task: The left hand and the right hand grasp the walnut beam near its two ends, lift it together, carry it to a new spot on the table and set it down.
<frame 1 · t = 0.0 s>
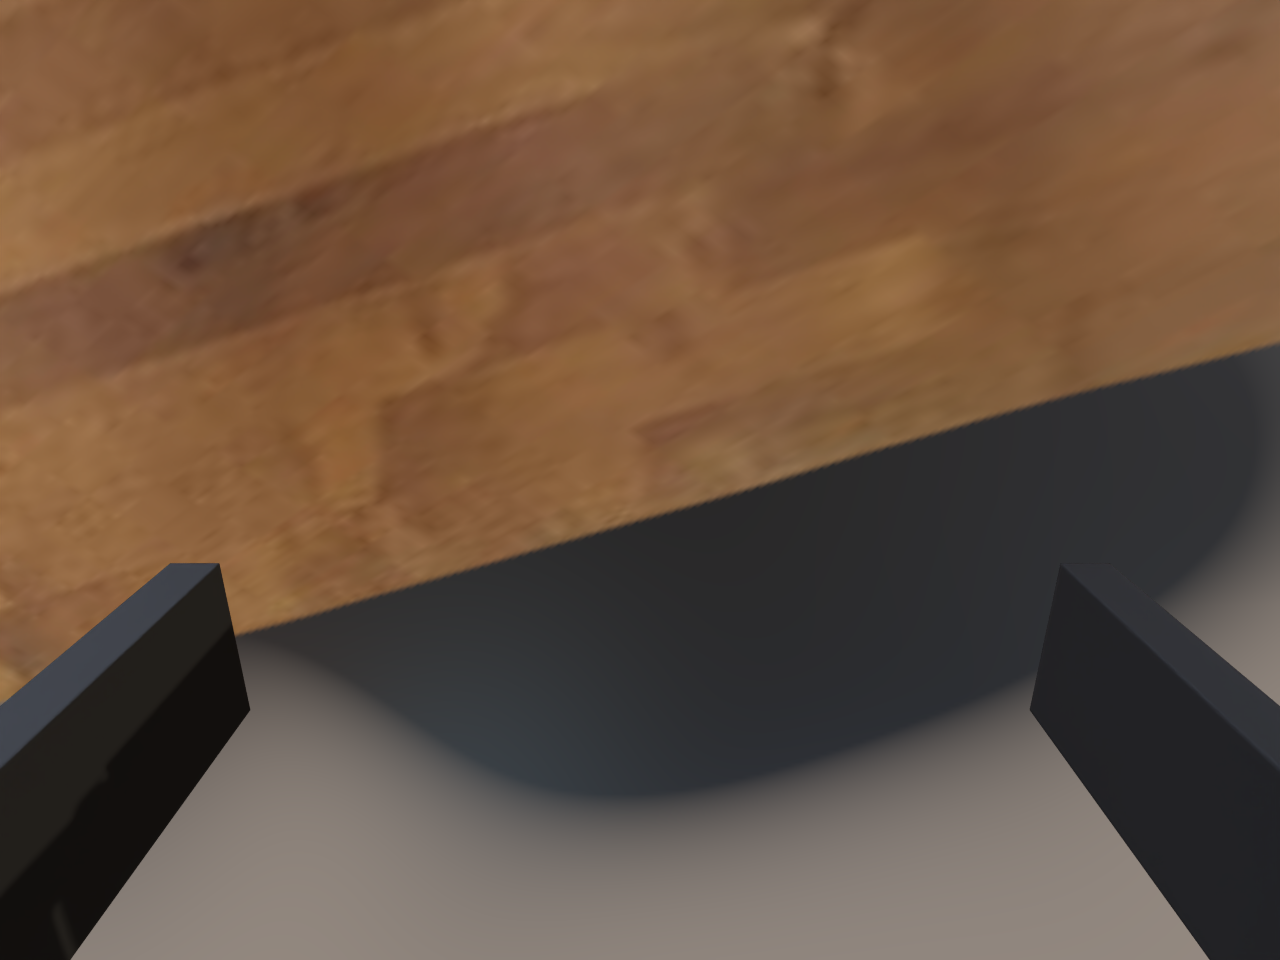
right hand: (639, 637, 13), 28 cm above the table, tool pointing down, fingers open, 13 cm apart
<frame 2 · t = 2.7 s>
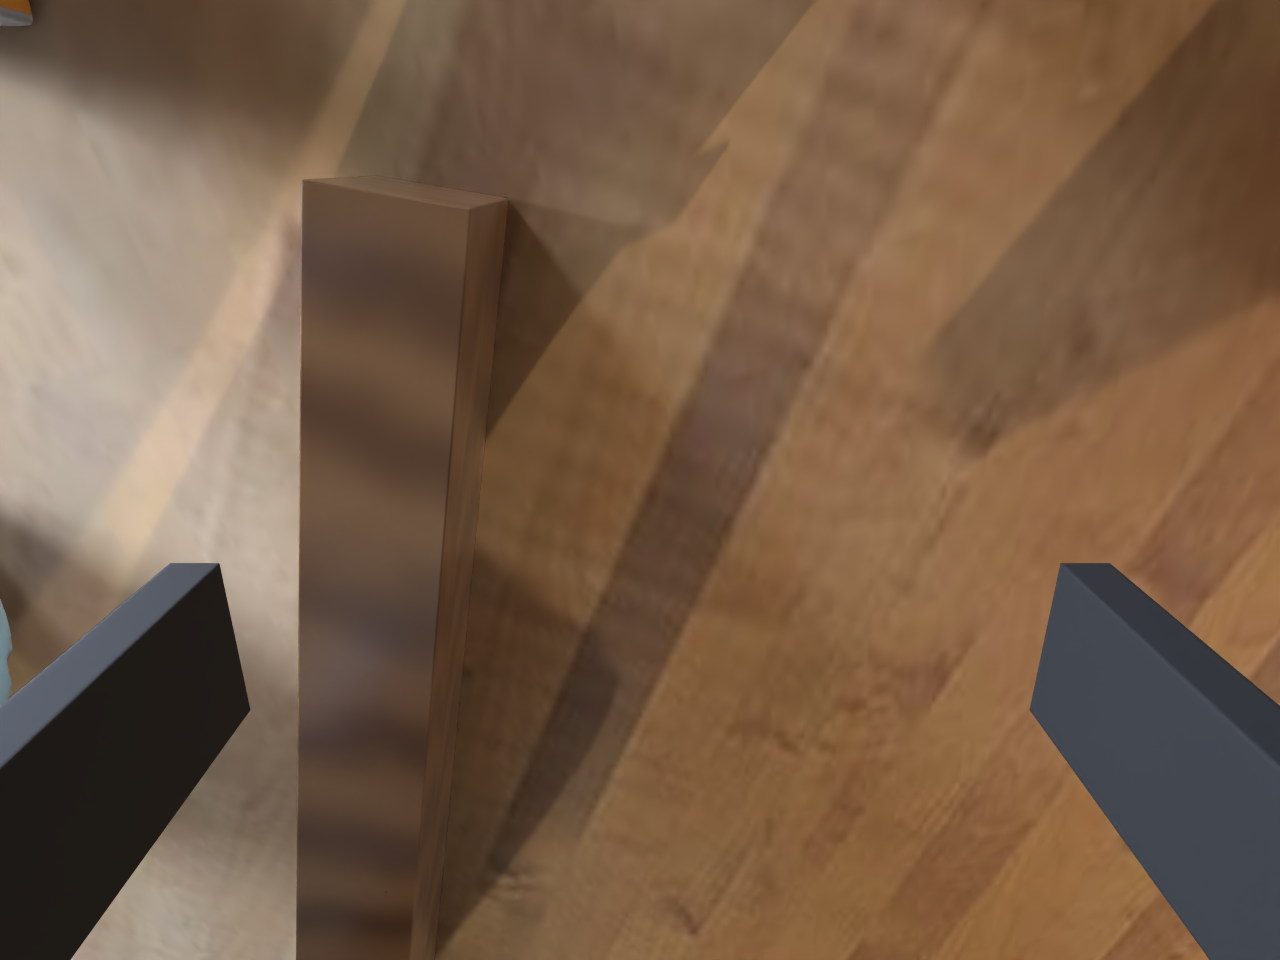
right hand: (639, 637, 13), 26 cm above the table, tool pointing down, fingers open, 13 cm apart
beam: (406, 722, 46), on the table, touching left hand
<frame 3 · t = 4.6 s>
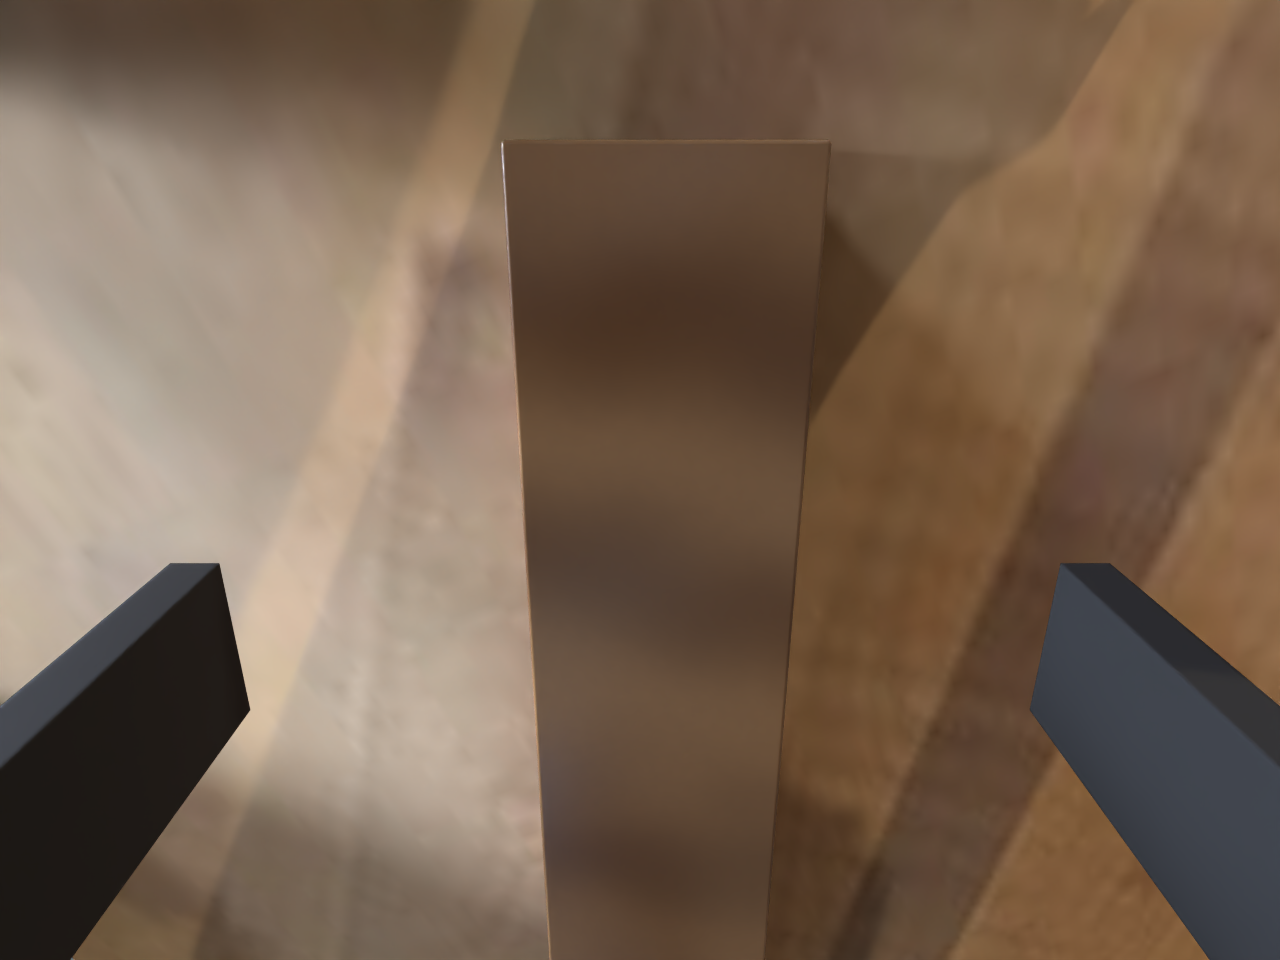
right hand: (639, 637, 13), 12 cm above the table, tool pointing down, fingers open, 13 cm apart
beam: (654, 924, 32), on the table, touching left hand
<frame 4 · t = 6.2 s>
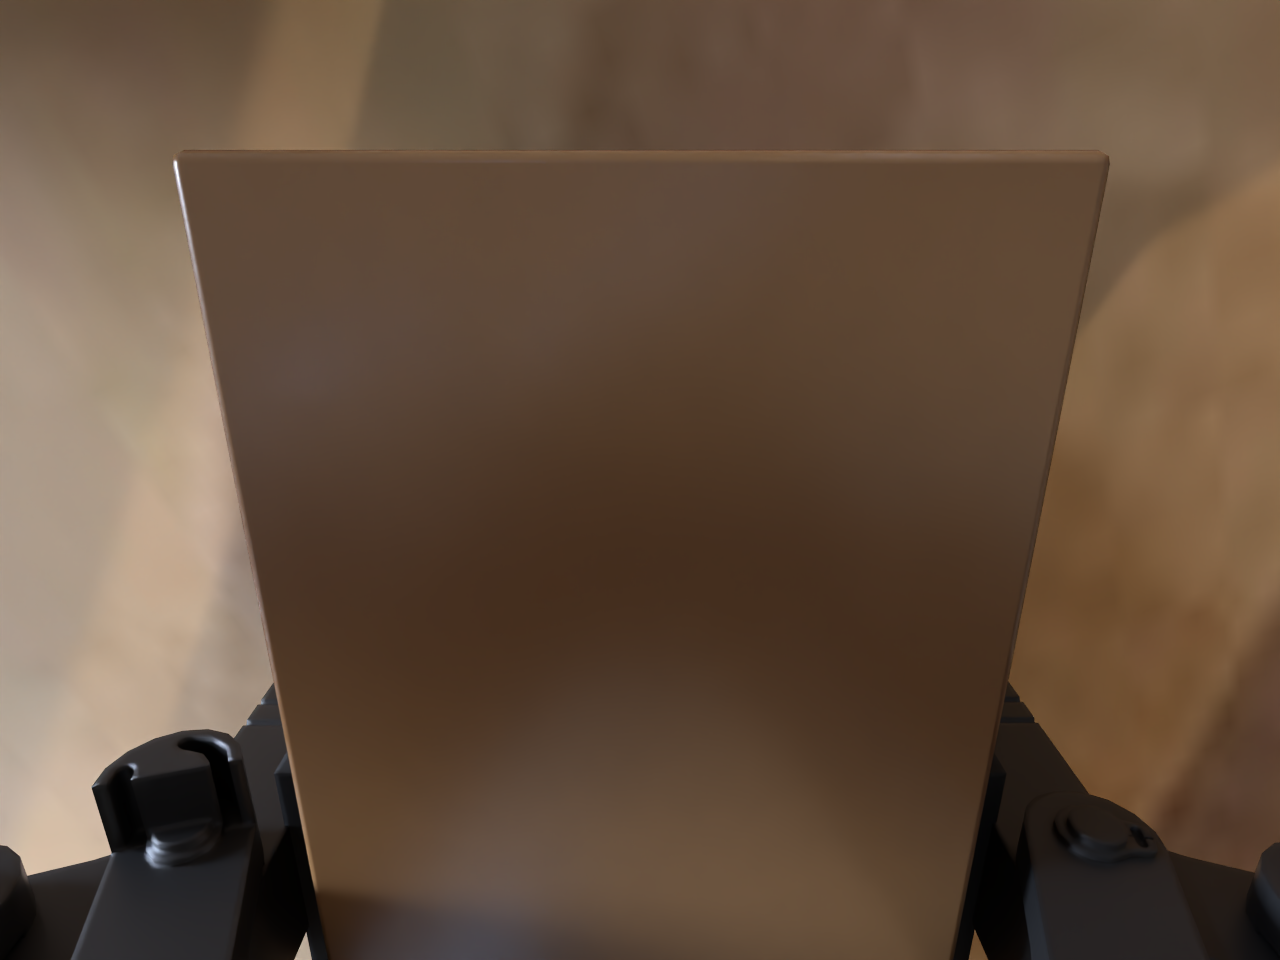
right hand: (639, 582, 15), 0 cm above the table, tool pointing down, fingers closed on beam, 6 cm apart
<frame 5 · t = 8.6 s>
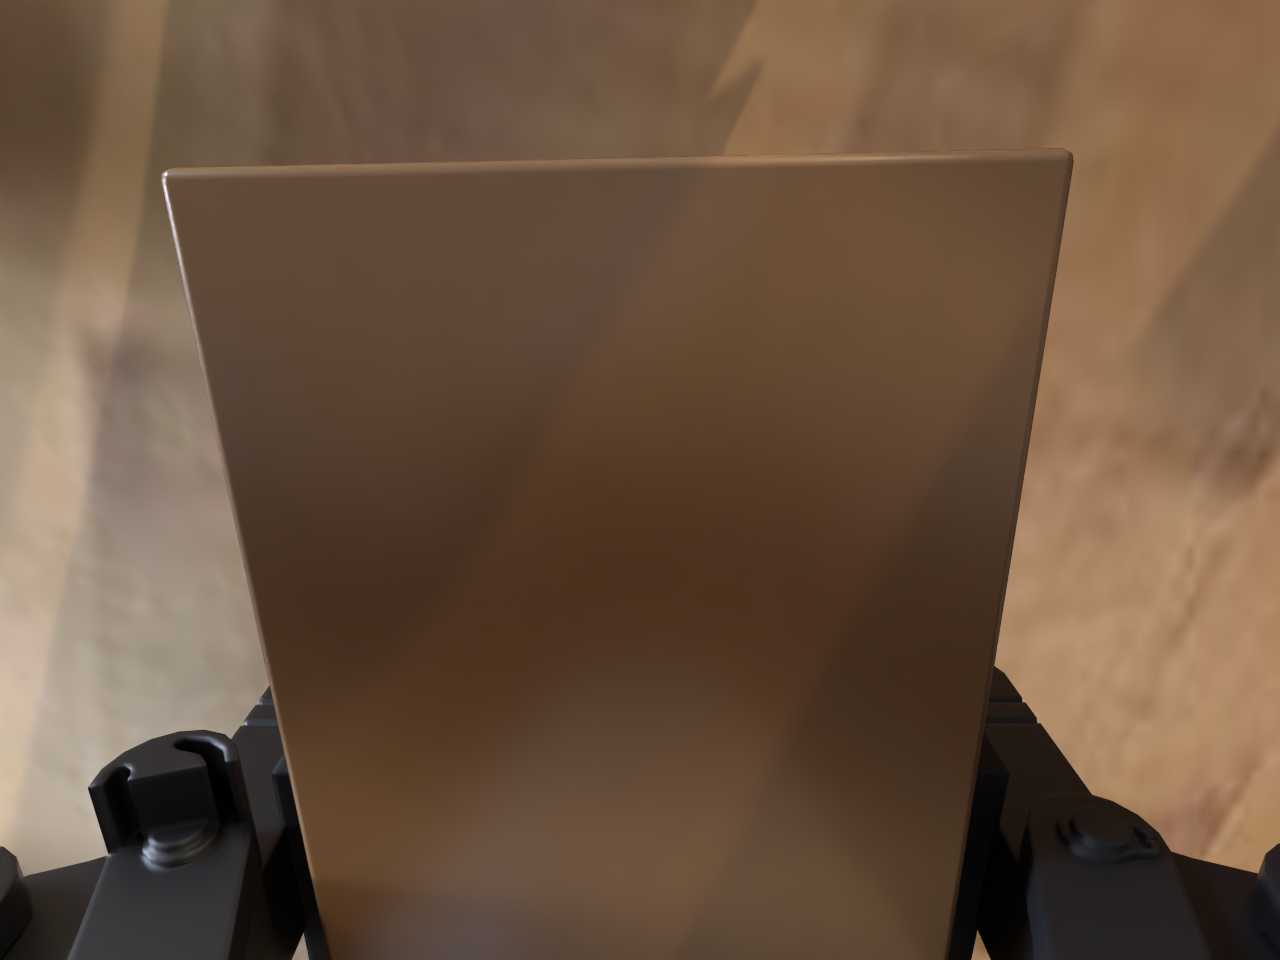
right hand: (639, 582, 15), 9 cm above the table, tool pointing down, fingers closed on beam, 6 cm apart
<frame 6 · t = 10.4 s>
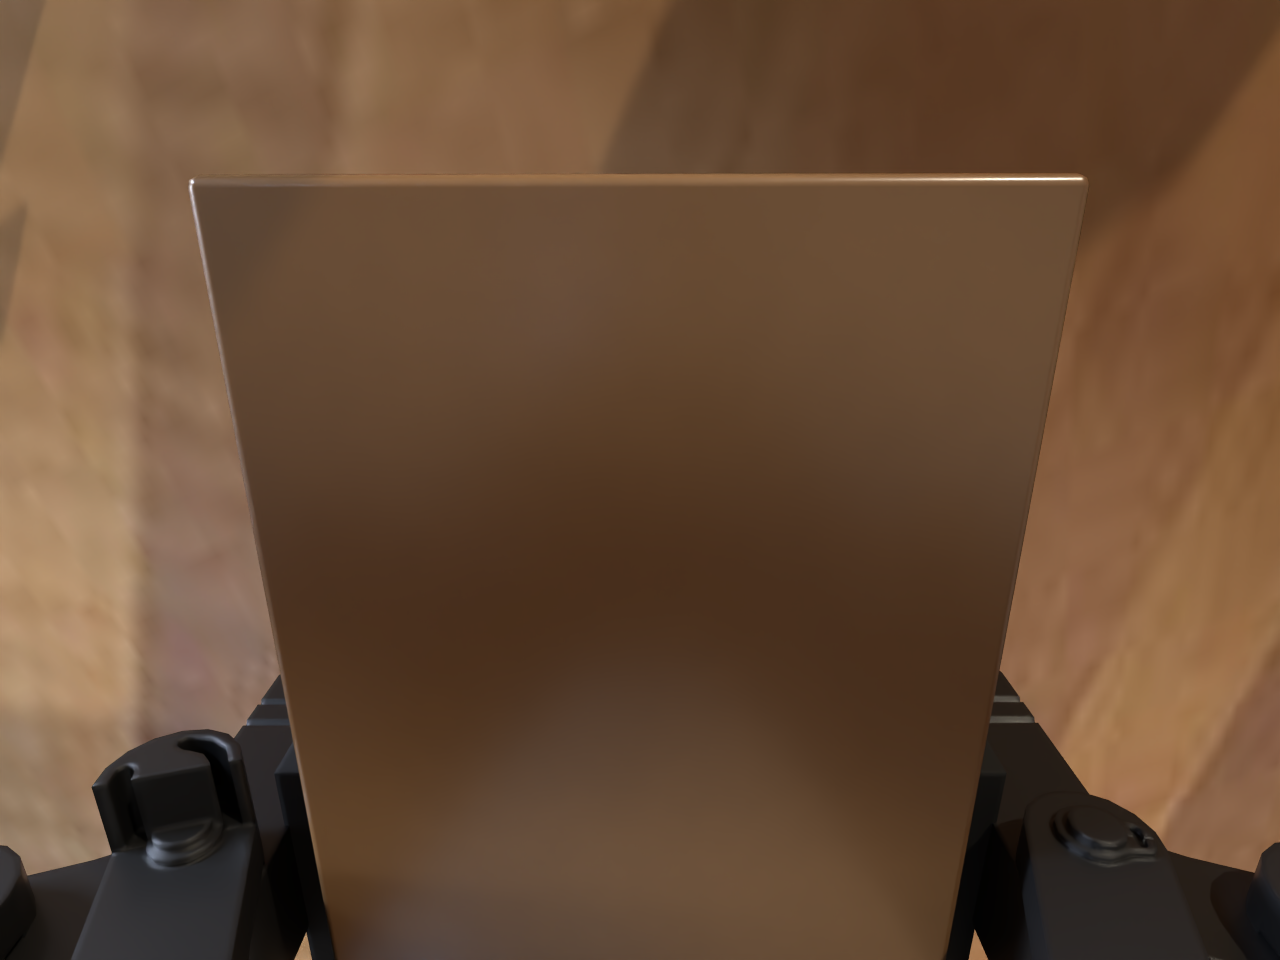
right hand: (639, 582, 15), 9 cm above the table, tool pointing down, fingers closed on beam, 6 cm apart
when the left hand's fingers open (2 cm above the table, at t = 11.4 s): beam drops 1 cm, on the table.
when the right hand's fingers open (2 cm above the table, at t = 11.4 s): beam drops 1 cm, on the table.
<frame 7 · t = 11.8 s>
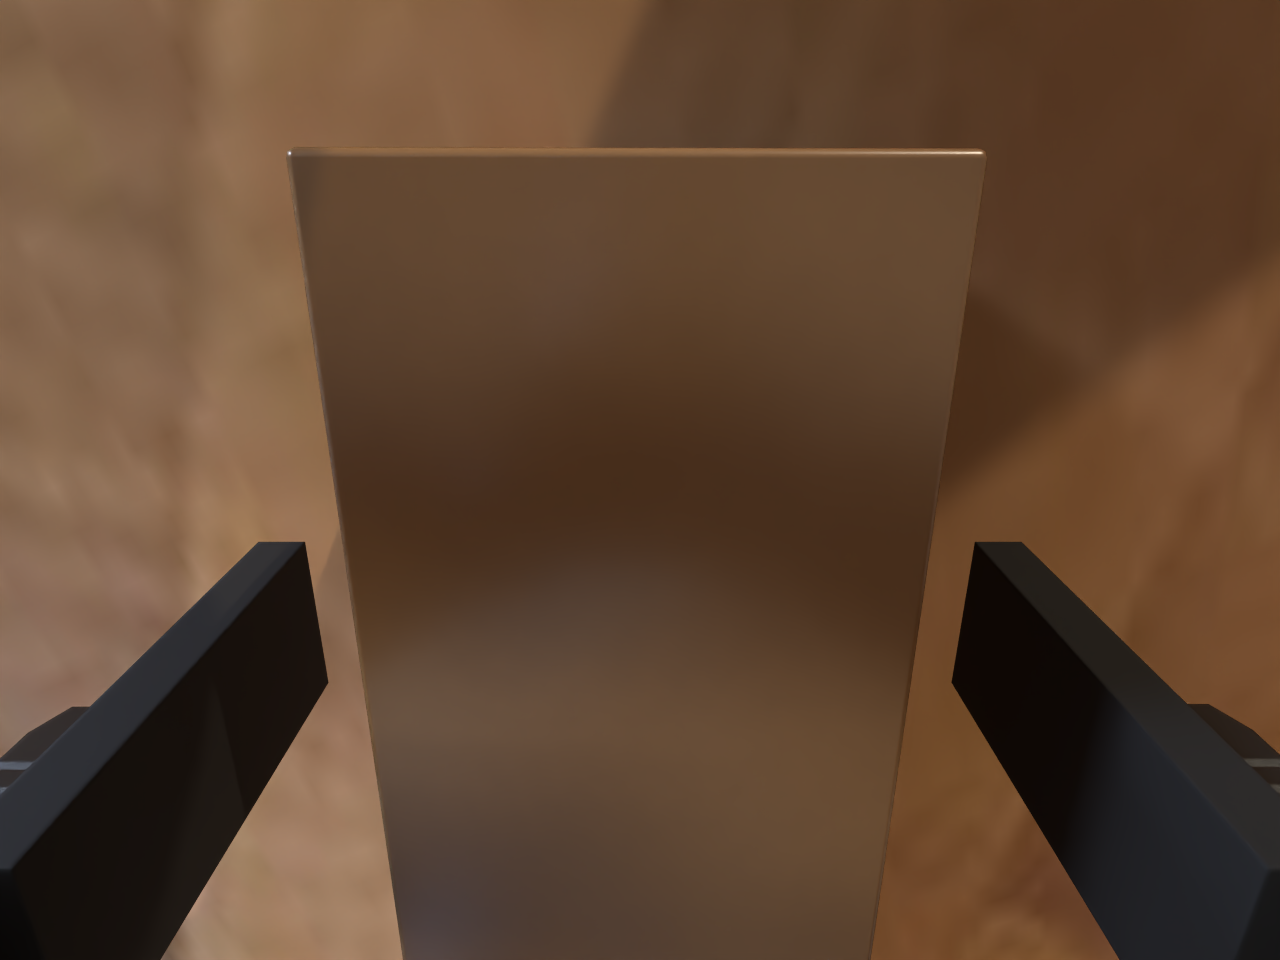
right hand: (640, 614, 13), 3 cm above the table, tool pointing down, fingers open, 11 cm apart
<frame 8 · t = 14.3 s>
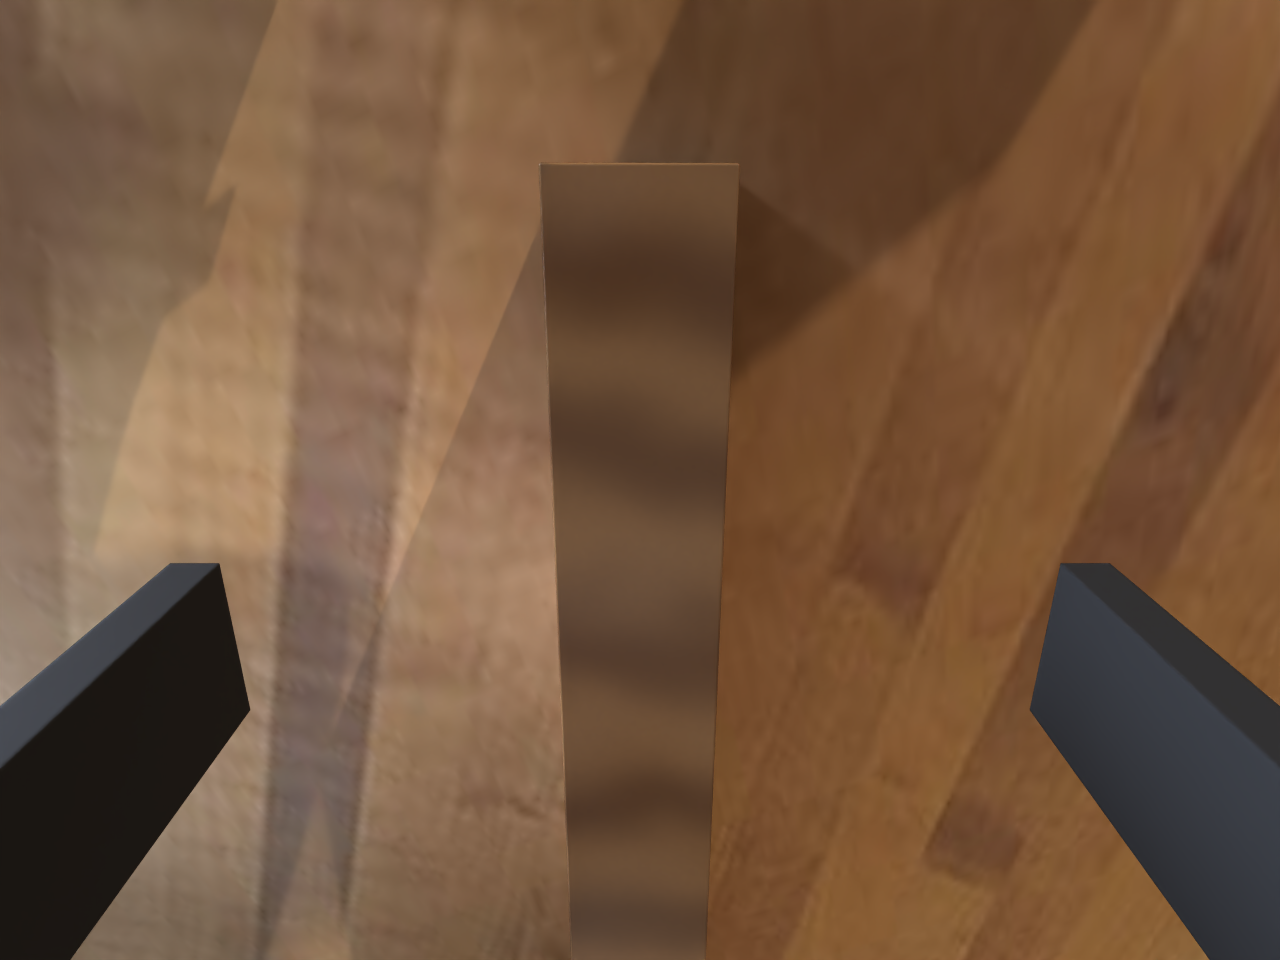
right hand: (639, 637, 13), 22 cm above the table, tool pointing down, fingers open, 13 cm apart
beam: (638, 772, 41), on the table
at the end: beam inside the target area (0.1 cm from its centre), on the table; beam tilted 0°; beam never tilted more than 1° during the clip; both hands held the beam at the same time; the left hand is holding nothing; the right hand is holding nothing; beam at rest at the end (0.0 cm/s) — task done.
